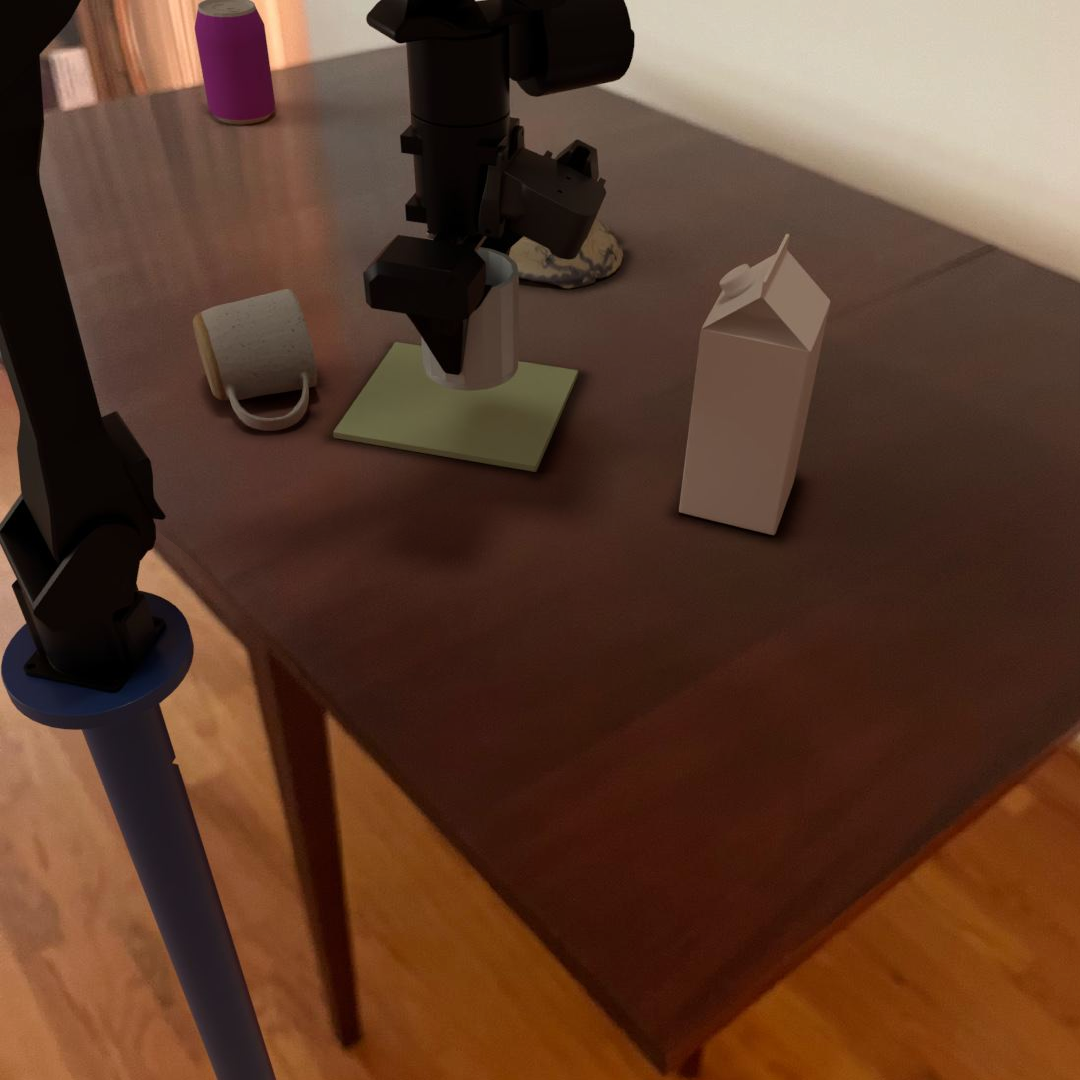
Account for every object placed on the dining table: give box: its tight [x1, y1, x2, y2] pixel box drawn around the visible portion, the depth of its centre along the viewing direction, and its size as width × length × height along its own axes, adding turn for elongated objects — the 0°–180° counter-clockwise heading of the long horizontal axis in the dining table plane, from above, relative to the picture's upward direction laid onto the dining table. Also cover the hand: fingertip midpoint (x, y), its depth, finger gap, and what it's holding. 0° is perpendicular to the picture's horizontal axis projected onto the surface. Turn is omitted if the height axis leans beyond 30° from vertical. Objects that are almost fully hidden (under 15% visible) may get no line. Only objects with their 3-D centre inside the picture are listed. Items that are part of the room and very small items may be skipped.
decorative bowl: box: [509, 217, 624, 290], centre depth 111 cm, size 15×4×15 cm
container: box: [420, 247, 520, 391], centre depth 75 cm, size 6×6×7 cm
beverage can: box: [194, 0, 276, 126], centre depth 131 cm, size 8×8×12 cm
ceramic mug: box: [192, 288, 318, 432], centre depth 88 cm, size 11×8×8 cm
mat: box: [332, 341, 579, 473], centre depth 91 cm, size 16×14×1 cm
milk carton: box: [678, 233, 831, 536], centre depth 78 cm, size 7×7×19 cm
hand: (468, 347), depth 76 cm, fingers closed on container, 6 cm apart
